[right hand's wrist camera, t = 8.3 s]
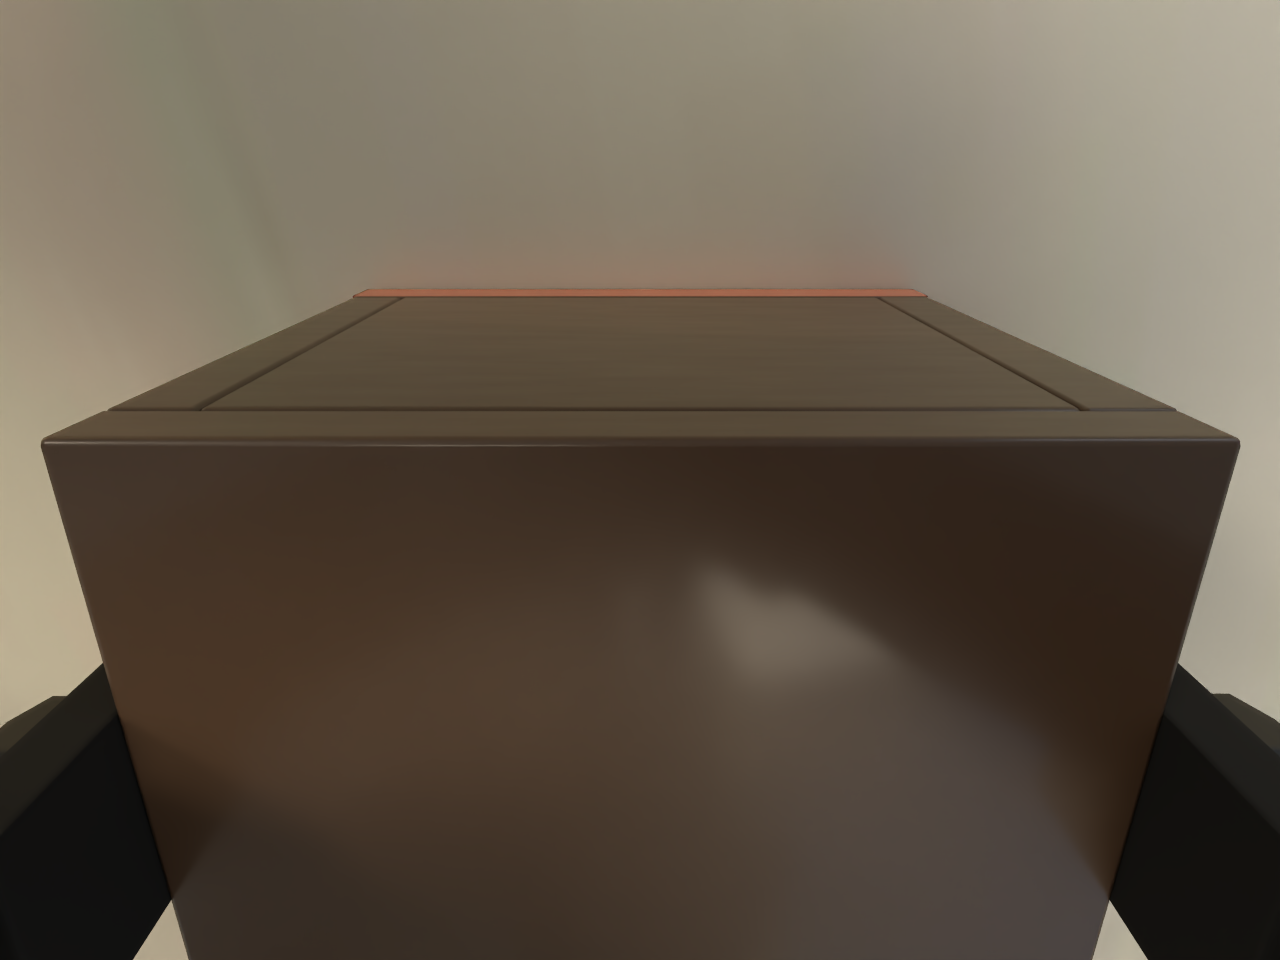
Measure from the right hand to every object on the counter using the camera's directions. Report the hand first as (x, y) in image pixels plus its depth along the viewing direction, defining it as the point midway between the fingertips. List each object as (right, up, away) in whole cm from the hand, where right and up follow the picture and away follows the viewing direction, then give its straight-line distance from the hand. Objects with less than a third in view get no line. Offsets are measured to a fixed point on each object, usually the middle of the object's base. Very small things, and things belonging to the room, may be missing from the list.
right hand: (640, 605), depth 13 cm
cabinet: (0, -3, +6) cm, 7 cm away
